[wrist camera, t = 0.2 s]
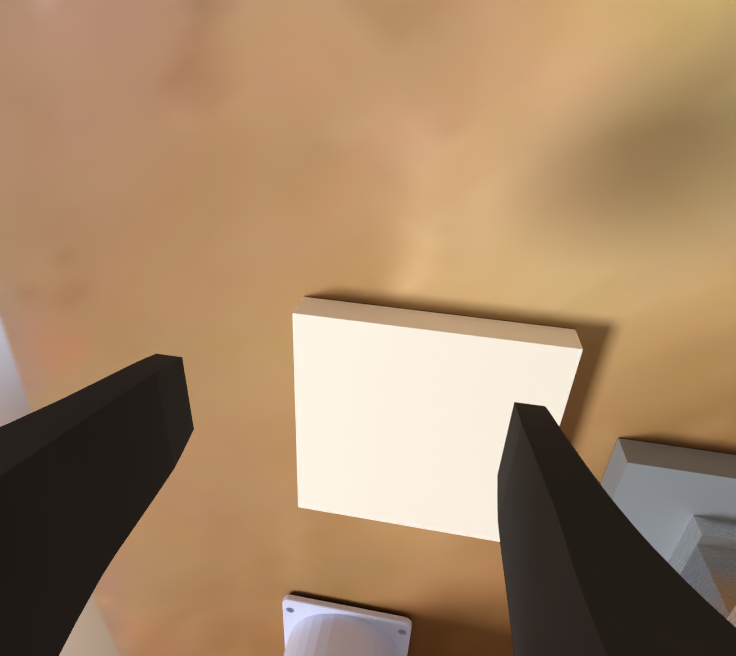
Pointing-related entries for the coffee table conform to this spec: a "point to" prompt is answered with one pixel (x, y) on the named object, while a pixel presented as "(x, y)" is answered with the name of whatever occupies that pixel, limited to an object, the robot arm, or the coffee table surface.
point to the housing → (709, 562)
